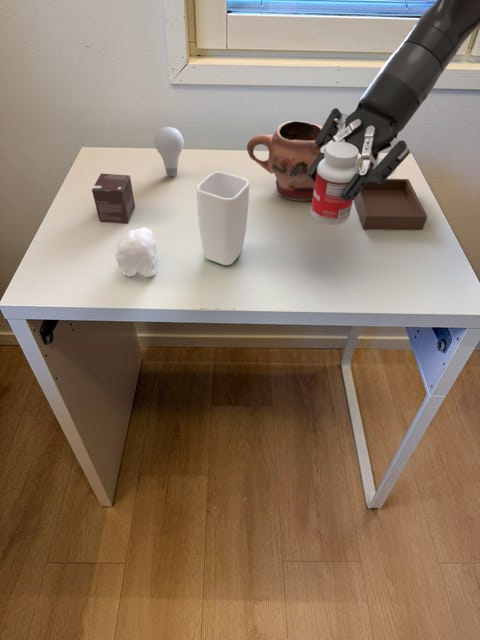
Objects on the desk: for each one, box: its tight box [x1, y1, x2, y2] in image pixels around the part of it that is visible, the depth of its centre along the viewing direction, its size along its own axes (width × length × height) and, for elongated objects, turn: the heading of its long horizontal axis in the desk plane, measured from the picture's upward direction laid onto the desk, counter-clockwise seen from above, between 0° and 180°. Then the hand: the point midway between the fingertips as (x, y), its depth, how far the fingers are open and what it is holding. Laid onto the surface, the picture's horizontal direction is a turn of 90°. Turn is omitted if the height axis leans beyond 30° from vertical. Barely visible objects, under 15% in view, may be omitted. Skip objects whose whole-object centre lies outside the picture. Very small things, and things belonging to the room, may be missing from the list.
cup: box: [196, 170, 250, 266], centre depth 81 cm, size 7×7×15 cm
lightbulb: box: [154, 126, 185, 178], centre depth 101 cm, size 6×6×11 cm
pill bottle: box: [310, 141, 360, 226], centre depth 70 cm, size 6×6×11 cm
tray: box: [353, 178, 428, 231], centre depth 98 cm, size 14×12×3 cm
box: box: [91, 173, 136, 224], centre depth 92 cm, size 6×6×7 cm
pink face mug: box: [246, 120, 323, 201], centre depth 98 cm, size 20×12×14 cm, turn 87°
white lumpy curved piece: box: [114, 226, 157, 278], centre depth 82 cm, size 6×8×12 cm
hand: (327, 188), depth 70 cm, fingers closed on pill bottle, 6 cm apart
